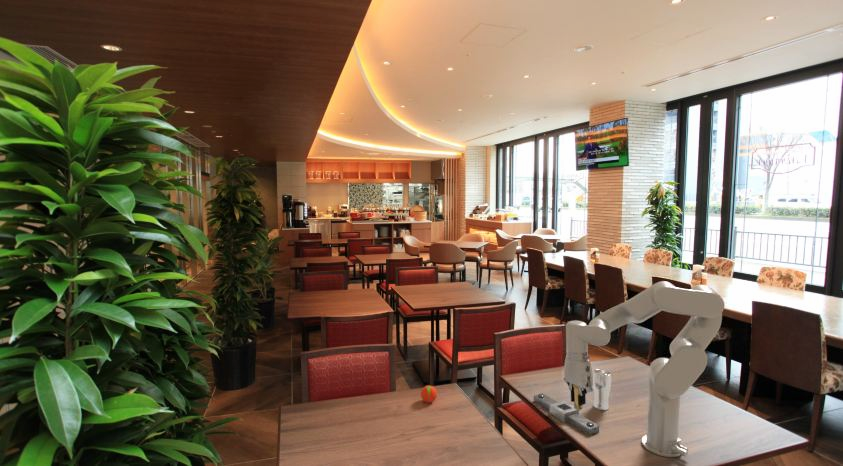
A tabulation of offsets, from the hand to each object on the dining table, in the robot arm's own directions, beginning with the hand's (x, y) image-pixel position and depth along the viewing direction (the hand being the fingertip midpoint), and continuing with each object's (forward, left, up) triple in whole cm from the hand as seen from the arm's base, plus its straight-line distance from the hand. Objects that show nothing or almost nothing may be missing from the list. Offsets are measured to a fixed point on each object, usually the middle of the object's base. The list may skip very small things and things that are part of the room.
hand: (578, 402), depth 162 cm
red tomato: (+46, +39, -12) cm, 61 cm away
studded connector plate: (+11, -4, -11) cm, 16 cm away
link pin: (0, 0, -2) cm, 2 cm away
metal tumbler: (+9, -23, -11) cm, 27 cm away
